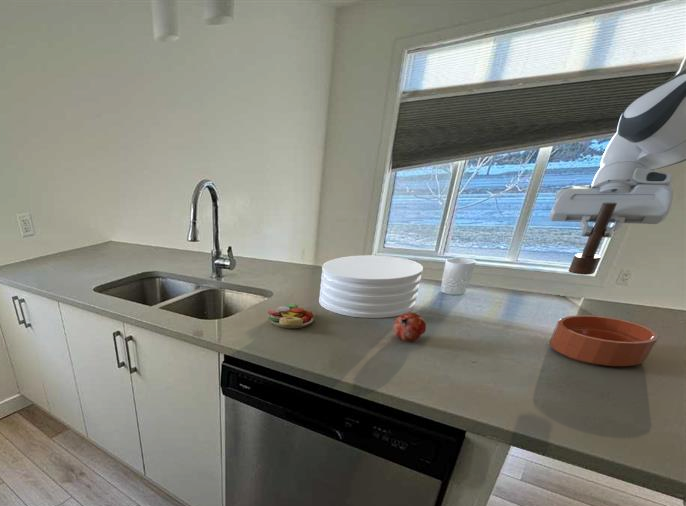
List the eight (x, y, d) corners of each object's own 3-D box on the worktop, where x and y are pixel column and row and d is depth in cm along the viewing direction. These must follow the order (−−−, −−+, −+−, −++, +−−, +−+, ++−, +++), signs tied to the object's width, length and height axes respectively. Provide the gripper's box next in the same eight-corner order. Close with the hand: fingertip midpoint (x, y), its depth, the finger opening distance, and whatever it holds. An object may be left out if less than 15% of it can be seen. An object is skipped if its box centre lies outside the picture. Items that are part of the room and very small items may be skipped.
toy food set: (290, 334, 113) (291, 323, 111) (258, 321, 123) (258, 311, 121) (322, 321, 119) (324, 311, 117) (289, 310, 128) (289, 300, 127)
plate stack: (374, 325, 113) (381, 285, 107) (300, 301, 134) (303, 267, 129) (434, 302, 124) (443, 265, 118) (357, 283, 146) (362, 251, 140)
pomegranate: (399, 339, 109) (379, 324, 104) (420, 317, 107) (400, 300, 102) (419, 353, 103) (398, 337, 99) (441, 330, 101) (421, 313, 96)
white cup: (451, 286, 135) (459, 256, 130) (472, 292, 129) (482, 261, 124) (432, 290, 133) (439, 260, 128) (453, 297, 127) (462, 265, 122)
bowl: (617, 340, 95) (629, 316, 92) (662, 372, 82) (678, 345, 79) (536, 337, 99) (545, 314, 96) (567, 366, 87) (579, 341, 84)
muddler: (588, 269, 103) (617, 201, 95) (598, 274, 99) (629, 203, 91) (564, 269, 104) (591, 202, 96) (573, 274, 100) (602, 205, 92)
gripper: (562, 177, 102) (542, 225, 101) (684, 174, 89) (664, 229, 88) (556, 194, 106) (538, 240, 105) (672, 194, 94) (652, 246, 93)
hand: (596, 235), depth 97 cm, fingers closed on muddler, 2 cm apart
